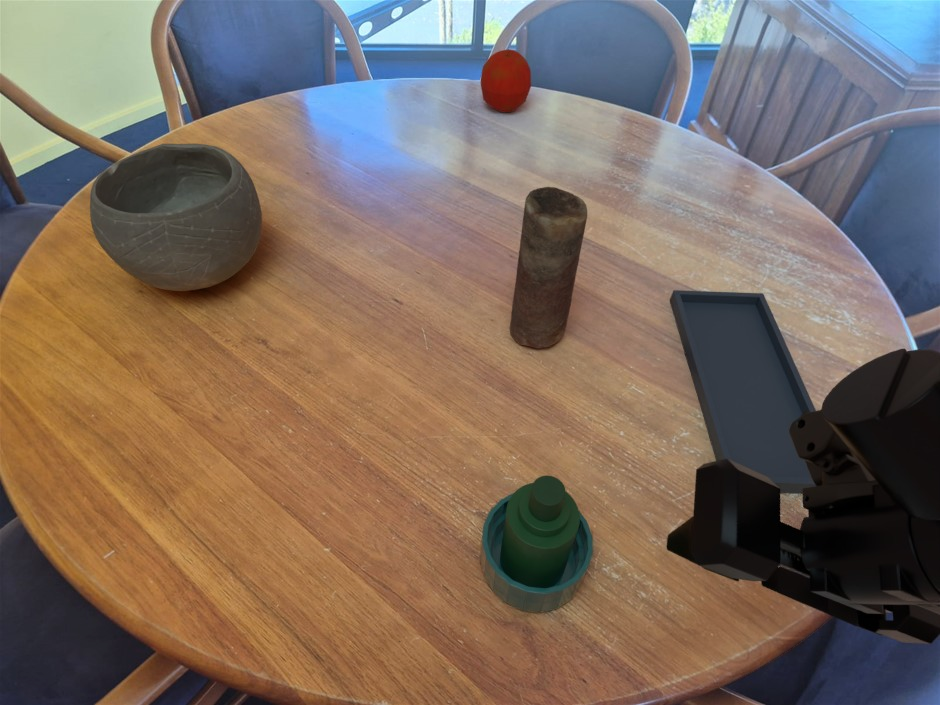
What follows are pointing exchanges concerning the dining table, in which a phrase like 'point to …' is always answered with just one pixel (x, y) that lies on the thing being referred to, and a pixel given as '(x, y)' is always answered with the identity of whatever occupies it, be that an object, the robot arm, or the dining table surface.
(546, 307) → the brown textured cylinder
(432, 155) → the dining table surface
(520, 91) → the apple
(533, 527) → the bottle
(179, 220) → the bowl
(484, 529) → the glazed bowl
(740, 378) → the tray
